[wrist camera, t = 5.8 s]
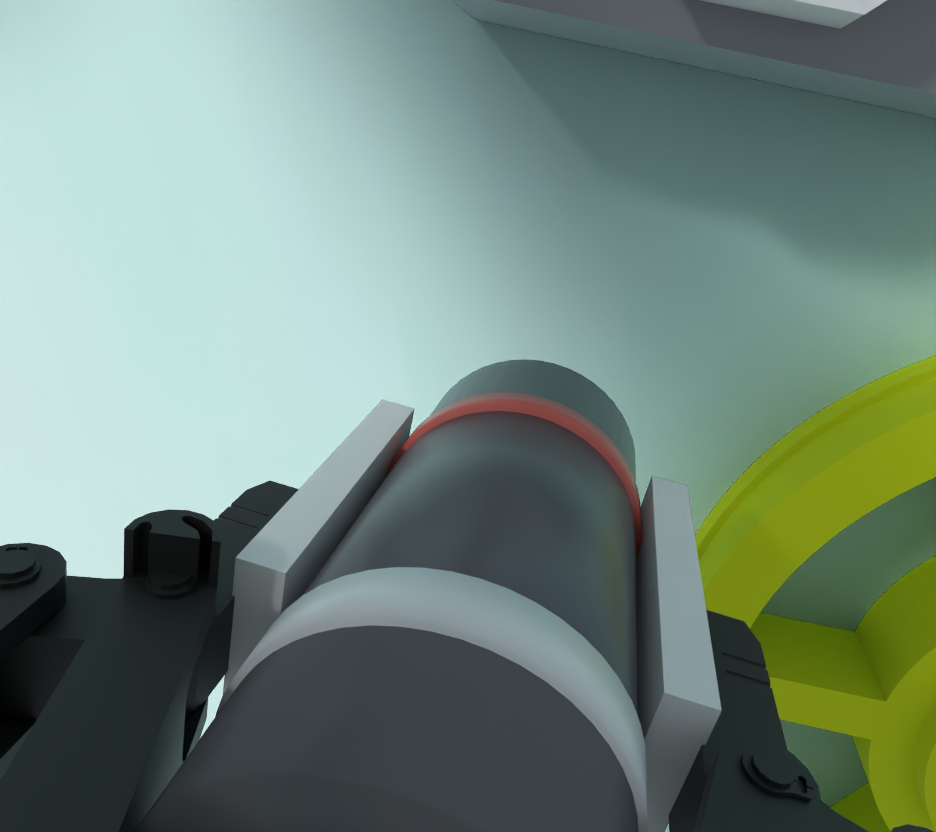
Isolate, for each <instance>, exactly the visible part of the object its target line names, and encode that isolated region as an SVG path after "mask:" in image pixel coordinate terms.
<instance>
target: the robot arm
mask: <svg viewBox="0 0 936 832" xmlns="http://www.w3.org/2000/svg"><path fill="white" fill-rule="evenodd" d="M413 413H414V408H411V407H407V406H404V405H400V404H397V403H393V402H390V401H386V400H381V401H380V402H379V404H378V405H377V406H376V407H375V408H374V409H373V410H372V411H371V412H370V413H369V414H368V415H367V416H366V418H365V419H364V420H363V421H362V422H361V423H360V424H359V425H358V426H357V427H356V428H355V429H354V430H353V432H352V433H351V434H350V435H349V436H348V437H347V438H346V439H345V440H344V441H343V442H342V443H341V445H340V446H339V447H338V448H337V449H336V450H335V451H334V452H333V453H332V454H331V455H330V456H329V457H328V459H327V460H326V461H325V462H324V463H323V464H322V465H321V466H320V467H319V468H318V469H317V470H316V471H315V473H314V474H313V475H312V476H311V477H310V478H309V479H308V480H307V481H306V482H305V483H304V484H303V485H302V487H301V488H300V489H296V488H293V487H289V486H286V485H283V484H279V483H276V482H273V481H268V482H265V483H263V484H260V485H258V486H255V487H253V488H250V489H248V490H246V491H245V492H244V493H243V494H242V495H241V496H240V497H239V498H237V499H236V500H235V501H234V502H233V503H232V504H231V507H228V508H227V509H226V510H225V511H224V512H222V513H221V514H220V515H219V518H218V519H215V520H214V521H213V520H212V519H210V518H208V517H207V516H205V515H203V514H199V513H195V512H191V511H187V510H164V511H158V512H152V513H149V514H146V515H144V516H142V517H139V518H137V519H135V520H134V521H132V522H131V523H130V524H129V525H128V526H127V527H126V528H125V529H124V576H123V578H122V579H103V578H90V577H77V576H67V571H66V561H65V559H64V558H63V556H62V555H61V554H60V552H58V551H56V550H54V549H52V548H50V547H48V546H44V545H38V544H32V543H20V544H7V545H3V546H0V832H135V830H136V828H137V827H138V826H139V824H140V823H141V821H142V820H143V819H144V817H145V816H146V814H147V813H148V812H149V810H150V809H151V807H152V806H153V804H154V803H155V802H156V800H157V799H158V797H159V796H160V795H161V793H162V792H163V790H164V789H165V788H166V786H167V785H168V783H169V782H170V781H171V779H172V778H173V776H174V775H175V774H176V772H177V771H178V769H179V768H180V767H181V765H182V764H183V762H184V761H185V760H186V758H187V757H188V755H189V754H190V752H191V751H192V750H193V748H194V747H195V745H196V744H197V743H198V741H199V739H200V736H201V733H202V730H203V727H204V724H205V721H206V718H207V706H208V696H209V695H210V693H211V692H212V691H213V689H214V688H215V687H216V685H217V684H218V683H219V681H220V680H221V679H222V677H223V676H224V675H225V678H224V689H223V694H224V693H225V691H226V689H227V688H228V686H229V684H230V683H231V681H232V679H233V678H234V676H235V675H236V673H237V672H238V671H239V669H240V668H241V667H242V665H243V664H244V662H245V661H246V660H247V658H248V657H249V656H250V654H251V653H252V651H253V650H254V649H255V647H256V646H257V645H258V643H259V642H260V641H261V639H262V638H263V636H264V635H265V634H266V632H267V631H268V630H269V628H270V627H271V625H272V624H273V623H274V622H275V621H276V620H277V618H278V617H279V616H280V615H281V614H282V613H283V612H284V611H285V609H287V608H288V607H289V606H290V605H291V604H293V603H294V602H295V601H296V600H298V599H299V598H300V597H301V596H302V595H303V594H304V592H305V591H306V589H307V588H308V587H309V585H310V584H311V582H312V581H313V580H314V578H315V577H316V575H317V574H318V573H319V571H320V570H321V568H322V567H323V566H324V564H325V563H326V561H327V560H328V558H329V557H330V556H331V554H332V553H333V551H334V550H335V549H336V547H337V546H338V544H339V543H340V542H341V540H342V539H343V537H344V536H345V535H346V533H347V532H348V530H349V529H350V528H351V526H352V525H353V523H354V522H355V521H356V519H357V518H358V516H359V515H360V514H361V512H362V511H363V509H364V508H365V506H366V505H367V504H368V502H369V501H370V499H371V498H372V497H373V495H374V494H375V492H376V491H377V490H378V488H379V487H380V485H381V484H382V483H383V481H384V480H385V477H386V473H387V471H388V469H389V466H390V464H391V463H392V461H393V459H394V458H395V456H396V455H397V453H398V452H399V450H400V449H401V447H402V446H403V445H404V443H405V442H406V441H407V439H408V438H409V434H410V429H411V424H412V418H413ZM640 509H641V545H640V551H639V553H638V556H637V559H636V593H637V712H638V718H639V721H640V723H641V728H642V733H643V737H644V742H645V751H646V784H647V831H648V832H665V830H666V828H667V825H668V823H669V830H670V832H869V831H867V830H865V829H864V828H862V827H860V826H859V825H857V824H855V823H853V822H852V821H850V820H848V819H846V818H845V817H843V816H842V815H840V814H839V813H837V812H836V811H834V810H833V809H831V808H830V807H828V806H827V805H826V804H825V803H823V802H822V801H821V799H820V794H819V789H818V785H817V784H816V782H815V780H814V779H813V777H812V775H811V774H810V772H809V770H808V769H807V768H806V767H805V766H804V765H803V764H802V763H801V762H800V761H799V760H798V759H797V758H796V757H795V756H794V755H793V754H792V753H790V752H789V751H787V747H786V743H785V739H784V735H783V731H782V727H781V723H780V719H779V715H778V711H777V707H776V703H775V699H774V695H773V691H772V688H770V684H771V683H770V679H769V675H768V671H767V670H766V663H765V659H764V655H763V651H762V647H761V643H760V642H759V641H758V639H757V638H756V637H755V635H754V634H753V632H752V631H751V630H750V628H749V627H748V626H747V624H746V623H745V622H744V621H742V620H738V619H735V618H732V617H729V616H725V615H722V614H719V613H715V612H712V611H709V610H706V605H705V599H704V592H703V586H702V579H701V573H700V566H699V560H698V553H697V547H696V540H695V534H694V527H693V520H692V514H691V507H690V501H689V494H688V488H687V485H684V484H680V483H677V482H673V481H670V480H666V479H663V478H659V477H656V476H652V477H651V480H650V483H649V486H648V488H647V491H646V494H645V497H644V500H643V502H642V505H641V508H640ZM891 832H934V831H932V830H930V829H928V828H924V827H919V826H914V825H909V824H906V825H902V826H899V827H895V828H893V829H892V831H891Z"/></svg>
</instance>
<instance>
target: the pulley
mask: <svg viewBox="0 0 936 832" xmlns="http://www.w3.org/2000/svg"><path fill="white" fill-rule="evenodd" d="M935 477H936V355H935V356H933V357H930V358H928V359H925V360H922V361H920V362H917V363H914V364H912V365H909V366H907V367H904V368H902V369H899V370H897V371H895V372H893V373H891V374H888V375H886V376H884V377H882V378H879V379H877V380H875V381H873V382H871V383H869V384H867V385H865V386H863V387H861V388H860V389H858V390H856V391H854V392H852V393H850V394H848V395H846V396H844V397H843V398H841V399H839V400H838V401H836V402H834V403H833V404H831V405H829V406H828V407H826V408H824V409H823V410H821V411H819V412H818V413H817V414H815V415H814V416H812V417H811V418H809V419H808V420H806V421H805V422H803V423H802V424H801V425H799V426H798V427H796V428H795V429H793V430H792V431H791V432H790V433H788V434H787V435H786V436H785V437H783V438H782V439H781V440H780V441H778V442H777V443H776V444H774V445H773V446H772V447H771V448H770V449H769V450H768V451H766V452H765V453H764V454H763V455H762V456H761V457H760V458H759V459H758V460H756V461H755V462H754V463H753V464H752V465H751V466H750V467H749V468H748V469H747V470H746V471H745V472H744V473H743V474H742V475H741V476H740V477H739V478H738V479H737V480H736V481H735V483H734V484H733V485H732V486H731V487H730V488H729V490H728V491H727V492H726V493H725V494H724V496H723V497H722V498H721V499H720V500H719V501H718V503H717V504H716V505H715V507H714V508H713V510H712V511H711V512H710V514H709V515H708V516H707V518H706V519H705V521H704V522H703V524H702V525H701V527H700V529H699V530H698V532H697V533H696V535H695V540H696V547H697V553H698V560H699V566H700V573H701V579H702V586H703V592H704V599H705V605H706V610H709V611H712V612H715V613H719V614H722V615H725V616H729V617H732V618H735V619H738V620H742V621H744V622H745V623H746V624H747V626H748V627H749V628H750V630H751V631H752V632H753V634H754V635H755V637H756V638H757V639H758V641H759V642H760V643H761V647H762V651H763V655H764V659H765V663H766V670H767V671H768V675H769V679H770V683H771V684H770V688H772V691H773V695H774V699H775V703H776V707H777V711H778V715H779V719H780V720H785V721H789V722H794V723H798V724H803V725H807V726H812V727H816V728H820V729H825V730H829V731H834V732H838V733H843V734H847V735H852V738H853V741H854V743H855V746H856V749H857V752H858V755H859V757H860V760H861V763H862V766H863V768H864V771H865V774H866V777H867V780H868V783H866V784H865V785H863V786H862V787H860V788H859V789H857V790H856V791H854V792H853V793H851V794H850V795H848V796H847V797H845V798H843V799H842V800H840V801H839V802H837V803H836V804H834V805H833V806H831V807H830V808H831V809H833V810H834V811H836V812H837V813H839V814H840V815H842V816H843V817H845V818H846V819H848V820H850V821H852V822H853V823H855V824H857V825H859V826H860V827H862V828H864V829H865V830H867V831H869V832H891V831H892V829H893V828H895V827H899V826H902V825H906V824H909V825H914V826H919V827H924V828H928V829H930V830H932V831H934V832H936V556H934V557H932V558H931V559H929V560H927V561H925V562H924V563H922V564H920V565H919V566H917V567H916V568H914V569H913V570H911V571H910V572H908V573H907V574H906V575H904V576H903V577H902V578H900V579H899V580H898V581H897V582H896V583H894V584H893V585H892V586H891V587H890V588H889V589H888V590H887V591H886V592H885V593H883V594H882V595H881V597H880V598H879V599H878V600H877V601H876V602H875V603H874V604H873V605H872V607H871V608H870V609H869V611H868V612H867V613H866V615H865V616H864V617H863V619H862V620H861V622H860V624H859V625H858V627H857V629H856V630H855V632H854V631H849V630H844V629H839V628H834V627H829V626H824V625H819V624H814V623H809V622H804V621H799V620H794V619H789V618H784V617H779V616H774V615H769V614H764V613H760V612H761V610H762V609H763V608H764V606H765V605H766V604H767V603H768V601H769V600H770V599H771V597H772V596H773V595H774V593H775V592H776V591H777V590H778V589H779V588H780V587H781V585H782V584H783V583H784V582H785V581H786V580H787V579H788V578H789V576H790V575H791V574H792V573H793V572H794V571H795V570H796V569H797V568H799V567H800V566H801V565H802V564H803V563H804V562H805V561H806V560H807V559H808V558H809V557H810V556H811V555H812V554H813V553H815V552H816V551H817V550H818V549H819V548H821V547H822V546H823V545H824V544H825V543H826V542H828V541H829V540H830V539H832V538H833V537H834V536H836V535H837V534H838V533H840V532H841V531H842V530H844V529H845V528H846V527H848V526H849V525H850V524H852V523H853V522H855V521H856V520H858V519H860V518H861V517H863V516H864V515H866V514H867V513H869V512H870V511H872V510H873V509H875V508H877V507H879V506H880V505H882V504H884V503H886V502H887V501H889V500H891V499H893V498H894V497H896V496H898V495H900V494H902V493H904V492H906V491H908V490H910V489H912V488H914V487H916V486H918V485H920V484H922V483H924V482H926V481H928V480H930V479H933V478H935Z"/></svg>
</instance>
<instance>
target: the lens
mask: <svg viewBox="0 0 936 832" xmlns="http://www.w3.org/2000/svg"><path fill="white" fill-rule="evenodd" d="M640 545H641V509H640V499H639V494H638V488H637V485H636V475H635V450H634V445H633V439H632V436H631V433H630V430H629V427H628V425H627V423H626V421H625V419H624V417H623V415H622V414H621V412H620V411H619V409H618V408H617V406H616V405H615V403H614V402H613V401H612V400H611V399H610V398H609V397H608V395H607V394H606V393H605V392H604V391H603V390H601V389H600V388H599V387H598V386H597V385H596V384H594V383H593V382H592V381H590V380H588V379H587V378H585V377H584V376H582V375H581V374H579V373H577V372H574V371H572V370H570V369H568V368H565V367H562V366H560V365H557V364H553V363H548V362H544V361H537V360H510V361H504V362H499V363H495V364H492V365H489V366H486V367H483V368H481V369H479V370H477V371H474V372H472V373H471V374H469V375H468V376H466V377H464V378H463V379H461V380H460V381H459V382H458V383H457V384H455V385H454V386H453V387H452V388H451V389H450V390H449V391H448V392H447V394H446V395H445V396H444V397H443V398H442V400H441V401H440V402H439V404H438V405H437V407H436V408H435V409H434V411H433V412H432V414H431V415H430V416H429V417H428V418H427V419H426V420H425V421H424V422H422V423H421V424H420V425H419V426H418V427H417V428H416V430H415V431H414V432H413V433H412V434H411V435H410V437H409V438H408V439H407V441H406V442H405V443H404V445H403V446H402V447H401V449H400V450H399V452H398V453H397V455H396V456H395V458H394V459H393V461H392V463H391V464H390V466H389V469H388V471H387V473H386V477H385V480H384V481H383V483H382V484H381V485H380V487H379V488H378V490H377V491H376V492H375V494H374V495H373V497H372V498H371V499H370V501H369V502H368V504H367V505H366V506H365V508H364V509H363V511H362V512H361V514H360V515H359V516H358V518H357V519H356V521H355V522H354V523H353V525H352V526H351V528H350V529H349V530H348V532H347V533H346V535H345V536H344V537H343V539H342V540H341V542H340V543H339V544H338V546H337V547H336V549H335V550H334V551H333V553H332V554H331V556H330V557H329V558H328V560H327V561H326V563H325V564H324V566H323V567H322V568H321V570H320V571H319V573H318V574H317V575H316V577H315V578H314V580H313V581H312V582H311V584H310V585H309V587H308V588H307V589H306V591H305V592H304V594H303V595H302V596H301V597H300V598H299V599H298V600H296V601H295V602H294V603H293V604H291V605H290V606H289V607H288V608H287V609H285V611H284V612H283V613H282V614H281V615H280V616H279V617H278V618H277V620H276V621H275V622H274V623H273V624H272V625H271V627H270V628H269V630H268V631H267V632H266V634H265V635H264V636H263V638H262V639H261V641H260V642H259V643H258V645H257V646H256V647H255V649H254V650H253V651H252V653H251V654H250V656H249V657H248V658H247V660H246V661H245V662H244V664H243V665H242V667H241V668H240V669H239V671H238V672H237V673H236V675H235V676H234V678H233V679H232V681H231V683H230V684H229V686H228V688H227V689H226V691H225V693H224V694H223V697H222V699H221V702H220V705H219V707H218V710H217V713H216V717H215V719H214V720H213V722H212V723H211V724H210V726H209V727H208V729H207V730H206V731H205V733H204V734H203V736H202V737H201V738H200V740H199V741H198V743H197V744H196V745H195V747H194V748H193V750H192V751H191V752H190V754H189V755H188V757H187V758H186V760H185V761H184V762H183V764H182V765H181V767H180V768H179V769H178V771H177V772H176V774H175V775H174V776H173V778H172V779H171V781H170V782H169V783H168V785H167V786H166V788H165V789H164V790H163V792H162V793H161V795H160V796H159V797H158V799H157V800H156V802H155V803H154V804H153V806H152V807H151V809H150V810H149V812H148V813H147V814H146V816H145V817H144V819H143V820H142V821H141V823H140V824H139V826H138V827H137V828H136V830H135V832H648V831H647V784H646V751H645V742H644V737H643V733H642V728H641V723H640V721H639V718H638V712H637V593H636V559H637V556H638V553H639V551H640Z"/></svg>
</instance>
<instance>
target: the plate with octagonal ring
mask: <svg viewBox="0 0 936 832" xmlns="http://www.w3.org/2000/svg"><path fill="white" fill-rule="evenodd" d="M451 1H452V2H453V3H455V4H456V5H457V6H458V7H460V8H461V9H462V10H464V11H465V12H466V13H468V14H469V15H470V16H471V17H473V18H474V19H476V20H481V21H485V22H490V23H495V24H499V25H504V26H509V27H513V28H518V29H523V30H527V31H532V32H537V33H541V34H546V35H551V36H555V37H560V38H564V39H569V40H574V41H578V42H583V43H588V44H592V45H597V46H602V47H606V48H611V49H616V50H620V51H625V52H630V53H634V54H639V55H644V56H648V57H653V58H658V59H662V60H667V61H672V62H676V63H681V64H686V65H690V66H695V67H699V68H704V69H709V70H713V71H718V72H723V73H727V74H732V75H737V76H741V77H746V78H751V79H755V80H760V81H765V82H769V83H774V84H779V85H783V86H788V87H793V88H797V89H802V90H807V91H811V92H816V93H821V94H825V95H830V96H834V97H839V98H844V99H848V100H853V101H858V102H862V103H867V104H872V105H876V106H881V107H886V108H890V109H895V110H900V111H904V112H909V113H914V114H918V115H923V116H928V117H932V118H936V0H451Z"/></svg>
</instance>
